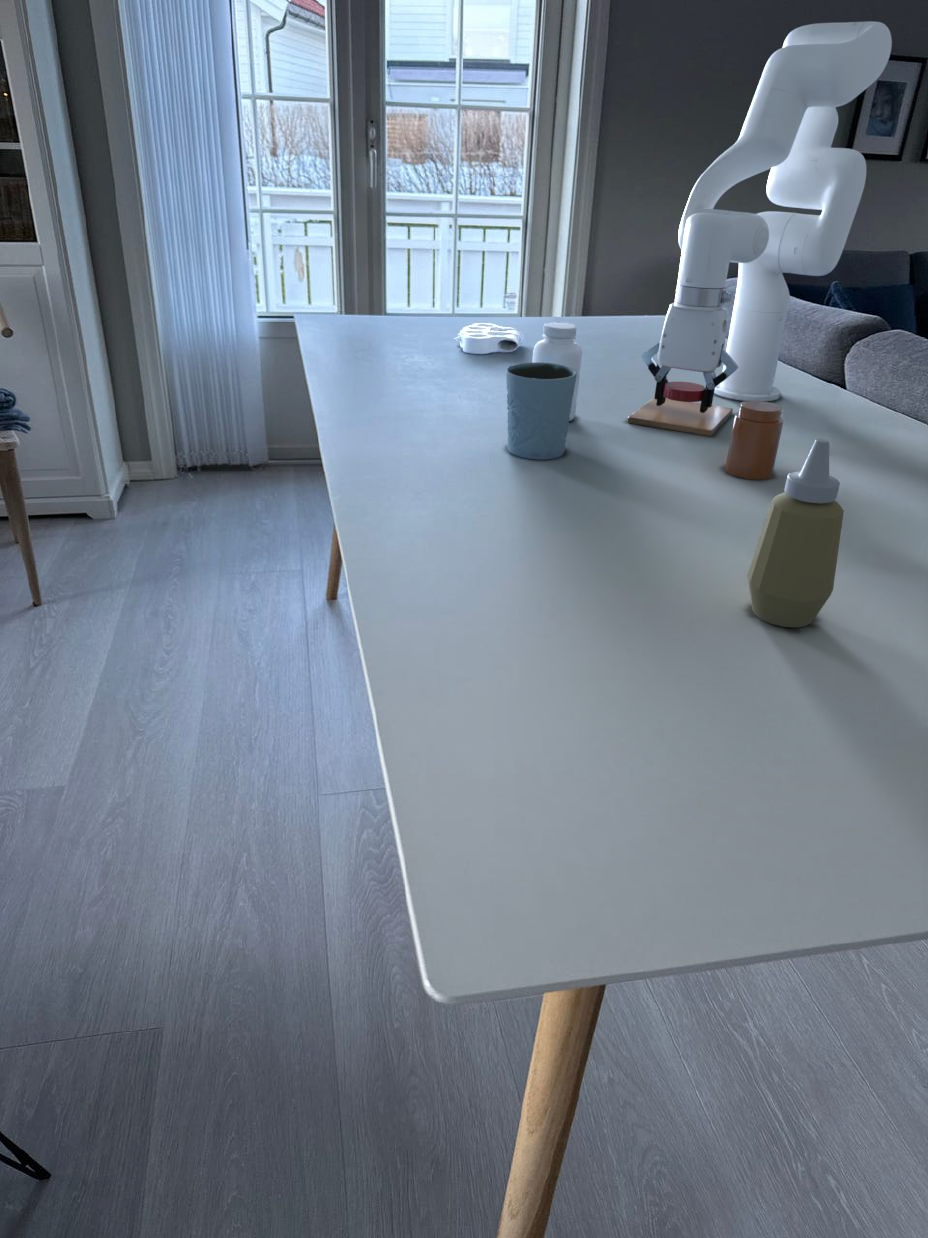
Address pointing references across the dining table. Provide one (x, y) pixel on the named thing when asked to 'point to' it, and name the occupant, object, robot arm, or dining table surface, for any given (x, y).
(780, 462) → the dining table surface
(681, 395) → the jam lid
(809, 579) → the squeeze bottle
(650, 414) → the wooden board
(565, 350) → the pill bottle
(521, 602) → the dining table surface
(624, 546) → the dining table surface
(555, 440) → the blue embossed cup
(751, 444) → the jam jar
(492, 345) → the white flat molded block
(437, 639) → the dining table surface
